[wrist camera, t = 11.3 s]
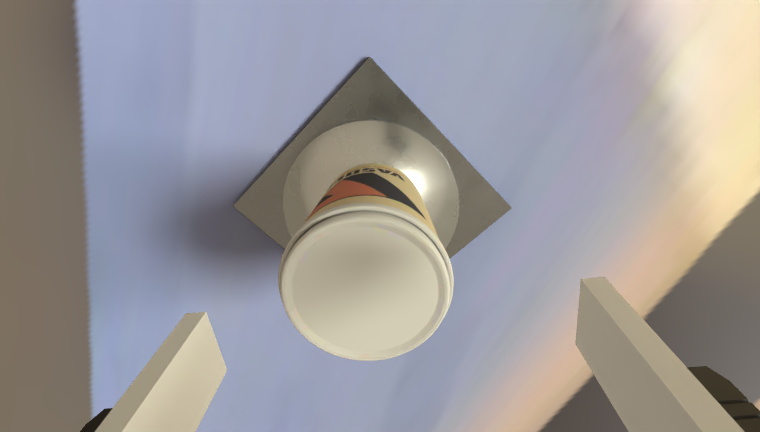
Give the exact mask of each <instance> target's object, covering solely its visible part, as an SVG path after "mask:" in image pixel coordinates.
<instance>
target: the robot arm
mask: <svg viewBox="0 0 760 432" xmlns="http://www.w3.org/2000/svg"><path fill="white" fill-rule="evenodd" d="M576 345H577V347H578V349H579V350H580V352H581V354H582V355H583V357H584V359H585V360H586V362H587V364H588V365H589V367H590V369H591V370H592V372H593V373H594V375H595V377H596V378H597V380H598V382H599V383H600V385H601V387H602V388H603V390H604V392H605V393H606V395H607V397H608V398H609V400H610V401H611V403H612V404H613V406H614V408H615V410H616V411H617V413H618V414H619V416H620V418H621V420H622V421H623V423H624V425H625V426H626V428H627V429H628V431H629V432H760V411H759V410H758V409H757V408H756V407H755V406H754V405H753V404H752V403H749V402H748V399H747V398H746V397H745V396H744V395H743V394H742V393H741V392H740V391H739V390H738V389H737V388H736V387H735V386H734V385H733V384H732V383H731V382H730V381H729V380H727V379H725V378H724V377H722V376H721V375H719V374H718V373H716V372H715V371H713V370H711V369H710V368H708V367H707V366H702V367H688V368H687V367H686V366H685V365H684V364H683V363H682V362H681V361H680V360H679V359H678V358H677V356H676V355H675V354H674V353H673V352H672V351H671V350H670V349H669V348H668V346H667V345H666V344H665V343H664V342H663V341H662V340H661V339H660V338H659V337H658V335H657V334H656V333H655V332H654V331H653V330H652V329H651V328H650V327H649V325H647V323H646V322H645V321H644V320H643V319H642V318H641V317H640V316H639V314H638V313H637V312H636V311H635V310H634V309H633V308H632V307H631V306H630V304H629V303H628V302H627V301H626V300H625V299H624V298H623V297H622V296H621V295H620V293H619V292H618V291H617V290H616V289H615V288H614V287H613V286H612V285H611V283H610V282H609V281H608V280H607V279H606V278H605V277H598V278H587V279H581V284H580V296H579V308H578V320H577V332H576ZM226 371H227V368H226V366H225V363H224V360H223V357H222V355H221V352H220V349H219V346H218V344H217V341H216V338H215V335H214V333H213V330H212V327H211V324H210V321H209V319H208V316H207V313H206V312H198V313H187V314H185V315H184V317H183V318H182V319H181V320H180V322H179V323H178V324H177V326H176V327H175V328H174V330H173V331H172V332H171V333H170V335H169V336H168V337H167V339H166V340H165V341H164V343H163V344H162V345H161V346H160V348H159V349H158V350H157V352H156V353H155V354H154V355H153V357H152V358H151V359H150V361H149V362H148V363H147V365H146V366H145V367H144V368H143V370H142V371H141V372H140V374H139V375H138V376H137V378H136V379H135V380H134V381H133V383H132V384H131V385H130V387H129V388H128V389H127V390H126V392H125V393H124V394H123V396H122V397H121V398H120V400H119V401H118V402H117V403H116V405H115V406H114V407H113V408H110V409H104V410H103V411H102V412H100V413H99V414H98V415H97V416H96V417H94V418H93V419H92V420H91V421H90V422H88V423H87V424H86V425H85V426H84V427H83V429H82V430H81V431H80V432H196V430H197V428H198V426H199V424H200V422H201V420H202V418H203V416H204V414H205V412H206V410H207V408H208V406H209V404H210V402H211V400H212V398H213V396H214V394H215V393H216V391H217V389H218V387H219V385H220V383H221V381H222V379H223V377H224V375H225V373H226Z"/></svg>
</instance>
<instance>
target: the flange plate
mask: <svg viewBox="0 0 760 432" xmlns="http://www.w3.org/2000/svg"><path fill="white" fill-rule="evenodd" d="M367 163H379V164H385V165H389V166H392V167H394V168H396V169H398V170H400V171H401V172H403V173H404V174H405V175H407V176H408V177H409V178H410V179H411V180H412V182H413V183H414V184H415V186H416V188H417V189H418V191H419V193H420V195H421V198H422V200H423V202H424V204H425V207H426V209H427V211H428V214H429V216H430V218H431V221H432V223H433V225H434V228H435V230H436V233H437V235H438V238H439V240H440V241H441V243H442V244H443V246H444V248H445V250H446V252H447V254H448V257H449V259H450V258H451V257H452V256H454V255H455V254H456V253H457V252H458V251H460V250H461V249H462V248H463V247H465V246H466V245H467V244H468V243H469V242H471V241H472V240H473V239H474V238H476V237H477V236H478V235H479V234H481V233H482V232H483V231H484V230H485V229H487V228H488V227H489V226H490V225H492V224H493V223H494V222H495V221H496V220H498V219H499V218H500V217H501V216H503V215H504V214H505V213H506V212H507V211H509V210H510V209H511V207H510V205H509V204H508V203H507V202H506V201H505V200H504V199H503V198H502V197H501V196H500V195H499V194H498V193H497V192H496V191H495V189H494V188H493V187H492V186H491V185H490V184H489V183H488V182H487V181H486V180H485V179H484V178H483V177H482V176H481V175H480V173H479V172H478V171H477V170H476V169H475V168H474V167H473V166H472V165H471V164H470V163H469V162H468V161H467V160H466V159H465V157H464V156H463V155H462V154H461V153H460V152H459V151H458V150H457V149H456V148H455V147H454V146H453V145H452V144H451V143H450V142H449V140H448V139H447V138H446V137H445V136H444V135H443V134H442V133H441V132H440V131H439V130H438V129H437V128H436V127H435V126H434V124H433V123H432V122H431V121H430V120H429V119H428V118H427V117H426V116H425V115H424V114H423V113H422V112H421V111H420V110H419V108H418V107H417V106H416V105H415V104H414V103H413V102H412V101H411V100H410V99H409V98H408V97H407V96H406V95H405V94H404V93H403V91H402V90H401V89H400V88H399V87H398V86H397V85H396V84H395V83H394V82H393V81H392V80H391V79H390V78H389V77H388V75H387V74H386V73H385V72H384V71H383V70H382V69H381V68H380V67H379V66H378V65H377V64H376V63H375V62H374V61H373V59H372V58H371V57H369V58H368V59H367V60H366V61H365V62H364V64H363V65H362V66H361V67H360V68H359V69H358V70H357V71H356V72H355V73H354V74H353V76H352V77H351V78H350V79H349V80H348V81H347V82H346V83H345V84H344V85H343V86H342V88H341V89H340V90H339V91H338V92H337V93H336V94H335V95H334V96H333V97H332V98H331V100H330V101H329V102H328V103H327V104H326V105H325V106H324V107H323V108H322V109H321V110H320V112H319V113H318V114H317V115H316V116H315V117H314V118H313V119H312V120H311V121H310V122H309V124H308V125H307V126H306V127H305V128H304V129H303V130H302V131H301V132H300V133H299V134H298V136H297V137H296V138H295V139H294V140H293V141H292V142H291V143H290V144H289V145H288V146H287V148H286V149H285V150H284V151H283V152H282V153H281V154H280V155H279V156H278V157H277V158H276V160H275V161H274V162H273V163H272V164H271V165H270V166H269V167H268V168H267V169H266V170H265V172H264V173H263V174H262V175H261V176H260V177H259V178H258V179H257V180H256V181H255V182H254V184H253V185H252V186H251V187H250V188H249V189H248V190H247V191H246V192H245V193H244V194H243V196H242V197H241V198H240V199H239V200H238V201H237V202H236V203H235V204H234V205H233V207H235V208H236V209H237V210H238V211H239V212H241V213H242V214H243V215H244V216H245V217H247V218H248V219H249V220H250V221H251V222H253V223H254V224H255V225H256V226H257V227H259V228H260V229H261V230H262V231H264V232H265V233H266V234H267V235H268V236H270V237H271V238H272V239H273V240H274V241H276V242H277V243H278V244H279V245H280V246H282V247H283V248H284V249H286V247H287V245H288V243H289V242H290V240H291V239H292V237H293V236H294V235H295V233H296V232H297V231H298V230H299V229H300V228H301V227H302V226H303V224H304V223H305V221H306V220H307V218H308V217H309V216H310V214H311V213H312V211H313V210H314V208H315V207H316V205H317V204H318V202H319V201H320V200H321V198H322V197H323V195H324V194H325V193H326V191H327V190H328V188H329V187H330V186H331V184H332V183H333V182H334V181H335V180H336V178H337V177H339V176H340V175H341V174H342V173H343V172H345V171H346V170H348V169H350V168H352V167H355V166H357V165H361V164H367Z"/></svg>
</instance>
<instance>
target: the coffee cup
mask: <svg viewBox="0 0 760 432" xmlns="http://www.w3.org/2000/svg"><path fill="white" fill-rule="evenodd" d="M453 284H454V281H453V271H452V266H451V262H450V260H449V257H448V254H447V252H446V250H445V248H444V246H443V244H442V243H441V241H440V240H439V238H438V235H437V233H436V230H435V228H434V225H433V223H432V221H431V218H430V216H429V214H428V211H427V209H426V207H425V204H424V202H423V200H422V198H421V195H420V193H419V191H418V189H417V188H416V186H415V184H414V183H413V182H412V180H411V179H410V178H409V177H408V176H407V175H405V174H404V173H403V172H401V171H400V170H398V169H396V168H394V167H392V166H389V165H385V164H379V163H367V164H361V165H357V166H355V167H352V168H350V169H348V170H346V171H345V172H343V173H342V174H341V175H340V176H339V177H337V178H336V180H335V181H334V182H333V183H332V184H331V186H330V187H329V188H328V190H327V191H326V193H325V194H324V195H323V197H322V198H321V200H320V201H319V202H318V204H317V205H316V207H315V208H314V210H313V211H312V213H311V214H310V216H309V217H308V218H307V220H306V221H305V223H304V224H303V226H302V227H301V228H300V229H299V230H298V231H297V232H296V233H295V235H294V236H293V237H292V239H291V240H290V242H289V243H288V245H287V247H286V249H285V251H284V253H283V256H282V258H281V262H280V267H279V274H278V285H279V291H280V296H281V299H282V302H283V304H284V307H285V310H286V313H287V315H288V317H289V318H290V320H291V322H292V323H293V325H294V326H295V328H296V329H297V330H298V331H299V332H300V333H301V334H302V335H303V336H304V337H305V338H306V339H307V340H309V341H310V342H311V343H312V344H314V345H315V346H317V347H319V348H321V349H322V350H324V351H326V352H328V353H331V354H334V355H336V356H340V357H343V358H347V359H353V360H362V361H369V360H382V359H388V358H392V357H396V356H398V355H401V354H404V353H406V352H409V351H411V350H412V349H414V348H416V347H417V346H419V345H420V344H422V343H423V342H424V341H425V340H427V339H428V338H429V337H430V336H431V335H432V334H433V333H434V331H435V330H436V329H437V328H438V326H439V325H440V323H441V321H442V320H443V318H444V316H445V315H446V313H447V311H448V308H449V306H450V303H451V300H452V295H453Z"/></svg>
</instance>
